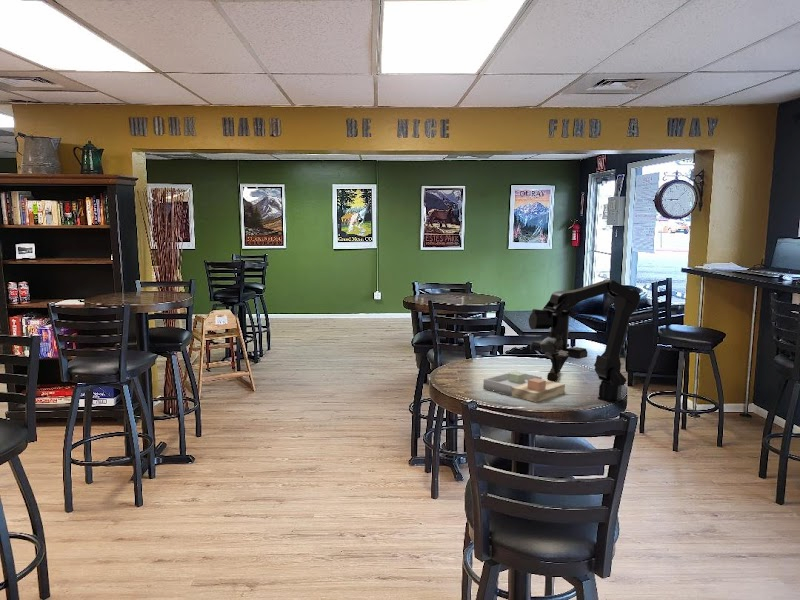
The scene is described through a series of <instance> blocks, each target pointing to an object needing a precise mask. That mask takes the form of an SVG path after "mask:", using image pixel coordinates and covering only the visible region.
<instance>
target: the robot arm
mask: <svg viewBox="0 0 800 600" xmlns="http://www.w3.org/2000/svg"><path fill="white" fill-rule="evenodd" d="M605 294H608V295H609V296H611V297H612V298H614V299H613V307H614V312H615V313H614V316H613V320H612V324H611V327H610V332H609V334H608V335H609V336H608V339H607V343H606V346H605V350H604V352H603V353H602V354H601V355H599V354H597V356H596V359H595V362H594V364H593V366H594V372H595V373H596V374H597V378H598V380H600V384H599V385H598V387H599V389H598V396H597V399H598V400H602V401H607V402H611V403H613V404H614V403H615V404H616V403H618V402H620V401H623V400H624V399H623V397H622V388H623V386H625V385H626V382H627V378H626V377H625V375H623V374H622V373H621V367H622V363H621V359H620V355H621V352H622V347H623V343H624V339H625V337H626V332H627V328H628V325H629V321H630V318H631V316H632V314H634V312H635V311H636V310H637V308H638V307H639V304H640V301H641V299H642V298H641V295H640V292H639V291H638V290H636V289H630V288H628V287H626V286H624V285H622V284H620V283H619V282H617V281H616V280H614V279H609V278H608V279H607V278H605V279H603V280H602V281H599V282H596V283H593V284H592V283H591V284H589V285H586V286H582V287H580V288H576V289H573V290H572V289H569V290H568V289H567V290H558V291H554V292H552V294H551V295H550V298H549V300H548V301H547V302H546V304H545V306H543V308H542V309H538V308H537V309H536V308H533V309H532V311H531V313H530V315H529V317H528V325H529V328H530V329H531V330H550V331H548V333H547V337H545V338H544V339H543V340H535V341H532V342H531V343H530V347H529V349H530V350H531V351H535V352H539V351H540V352H541V353H544V355H545V356H547V357H548V358H549V361H550V362H551V367H552V366H553V369H554V372H555V374H558V375H560V374H559V373H561V371H562V369H563V367H564V365H565V363H566V362H567V360H568V358H571V359H577V360H580V359H584V358H588V351H587V348H584V347H578V346H575V347H571V348H570V343H568V342H569V341H568V340H569V339H568V338H569V336H571V332H570V331H569V327H570V326H569V325H570V323H569V322H570V317H576V313H574V312H573V311H572V308H575V307H576V306H577V305H579V303H581V302H583V301H586V300H589V299H592V298H596V297H599V296H602V295H605Z"/></svg>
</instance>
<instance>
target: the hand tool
mask: <svg viewBox="0 0 800 600" xmlns="http://www.w3.org/2000/svg"><path fill="white" fill-rule="evenodd" d="M558 378H559V374H555V372H554V369H553V366H552V365H551V368H550V370H549V372H548V373H547V376H546V380H548V381H555V382H557V381H558Z"/></svg>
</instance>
